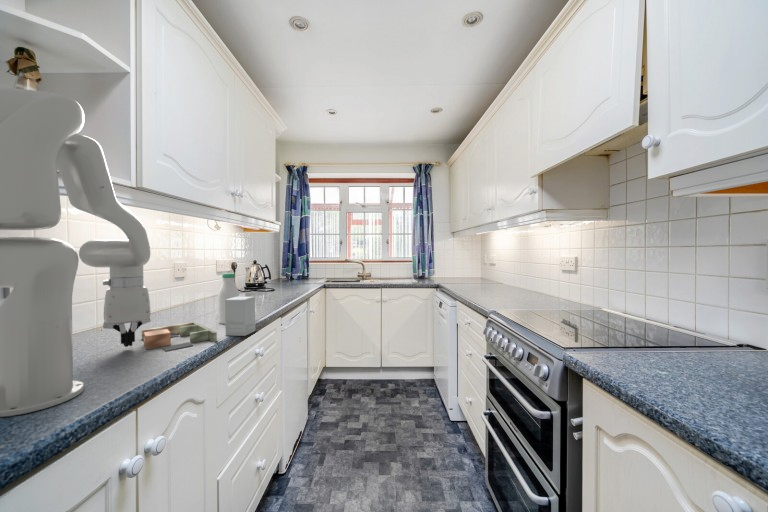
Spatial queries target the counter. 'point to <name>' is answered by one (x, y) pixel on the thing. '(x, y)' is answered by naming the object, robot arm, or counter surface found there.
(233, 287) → the milk bottle
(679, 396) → the counter surface
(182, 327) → the green-grey pronged frame
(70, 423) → the counter surface
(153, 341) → the block
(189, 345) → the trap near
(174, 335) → the plate
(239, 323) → the supplement box
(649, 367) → the counter surface
